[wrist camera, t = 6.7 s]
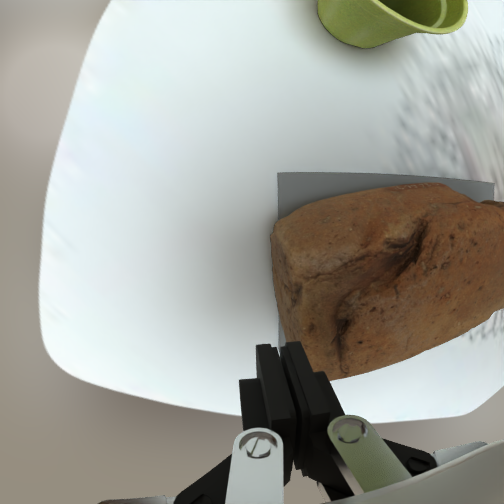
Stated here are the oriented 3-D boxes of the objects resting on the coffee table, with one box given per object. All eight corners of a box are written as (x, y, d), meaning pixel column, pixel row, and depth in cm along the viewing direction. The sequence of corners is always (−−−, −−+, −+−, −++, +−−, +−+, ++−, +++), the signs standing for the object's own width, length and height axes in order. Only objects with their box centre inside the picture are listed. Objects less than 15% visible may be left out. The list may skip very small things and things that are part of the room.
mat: (492, 183, 23) (494, 183, 23) (472, 315, 27) (474, 317, 26) (277, 172, 21) (278, 172, 21) (278, 350, 25) (279, 352, 25)
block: (279, 328, 24) (472, 271, 25) (302, 404, 18) (519, 315, 19) (258, 198, 19) (487, 164, 20) (286, 257, 13) (553, 195, 13)
